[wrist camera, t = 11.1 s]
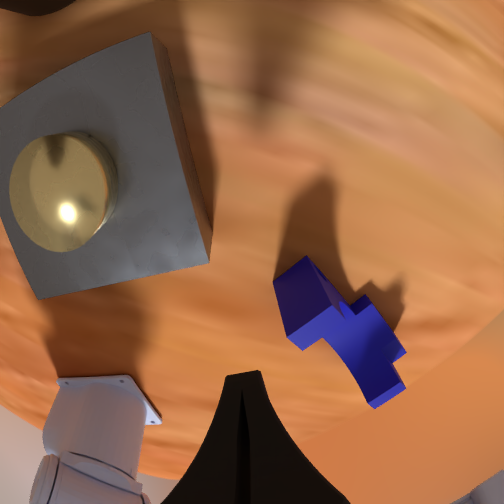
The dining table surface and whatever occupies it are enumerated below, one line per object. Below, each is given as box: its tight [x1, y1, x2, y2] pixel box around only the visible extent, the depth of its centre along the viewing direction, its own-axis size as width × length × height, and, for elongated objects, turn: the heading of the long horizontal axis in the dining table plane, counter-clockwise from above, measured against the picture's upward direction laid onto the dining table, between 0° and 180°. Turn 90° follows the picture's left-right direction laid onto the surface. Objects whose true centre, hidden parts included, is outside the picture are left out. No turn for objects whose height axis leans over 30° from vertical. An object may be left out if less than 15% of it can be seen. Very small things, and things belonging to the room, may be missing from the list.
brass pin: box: [9, 131, 118, 252], centre depth 14 cm, size 6×6×6 cm
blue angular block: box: [273, 255, 407, 409], centre depth 20 cm, size 12×4×6 cm, turn 41°
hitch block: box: [0, 32, 213, 300], centre depth 15 cm, size 12×12×4 cm
